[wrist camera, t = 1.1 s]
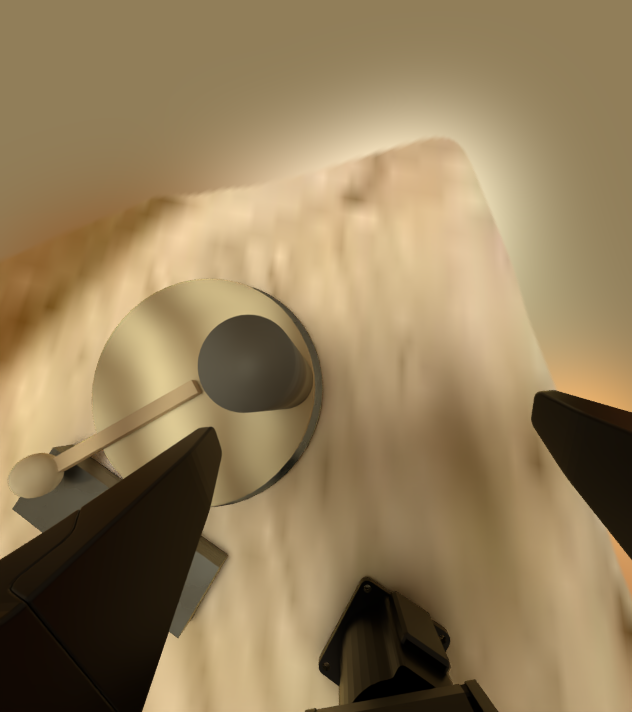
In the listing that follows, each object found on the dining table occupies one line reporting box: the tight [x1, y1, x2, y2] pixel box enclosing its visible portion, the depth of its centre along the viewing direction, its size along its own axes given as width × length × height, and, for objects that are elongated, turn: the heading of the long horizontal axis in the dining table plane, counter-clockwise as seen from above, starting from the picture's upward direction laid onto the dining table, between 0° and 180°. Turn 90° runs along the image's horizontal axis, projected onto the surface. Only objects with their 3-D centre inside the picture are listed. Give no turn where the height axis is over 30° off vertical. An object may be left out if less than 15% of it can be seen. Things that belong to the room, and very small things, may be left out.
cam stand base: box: [13, 287, 323, 638], centre depth 23 cm, size 23×17×2 cm
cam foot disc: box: [8, 279, 315, 507], centre depth 18 cm, size 21×16×10 cm
